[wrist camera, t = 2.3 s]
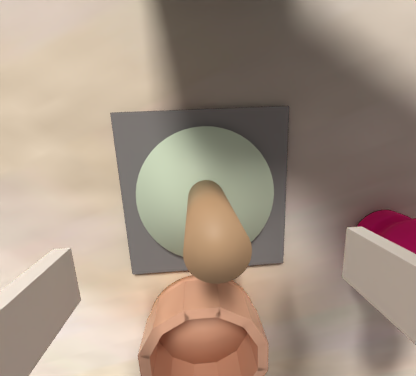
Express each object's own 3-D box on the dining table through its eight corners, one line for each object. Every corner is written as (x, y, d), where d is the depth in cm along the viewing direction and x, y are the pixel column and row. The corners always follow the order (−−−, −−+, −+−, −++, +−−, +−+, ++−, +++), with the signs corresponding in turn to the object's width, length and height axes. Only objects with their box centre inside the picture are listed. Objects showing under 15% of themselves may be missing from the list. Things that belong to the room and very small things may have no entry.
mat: (112, 113, 20) (110, 112, 19) (286, 106, 21) (289, 105, 20) (133, 271, 23) (132, 274, 23) (281, 259, 24) (283, 262, 24)
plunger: (129, 129, 20) (54, 120, 9) (272, 123, 20) (360, 108, 10) (145, 260, 23) (102, 370, 12) (269, 251, 23) (334, 347, 13)
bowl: (144, 278, 24) (132, 314, 19) (254, 269, 24) (269, 303, 20) (155, 366, 26) (146, 417, 22) (253, 356, 27) (267, 404, 22)
